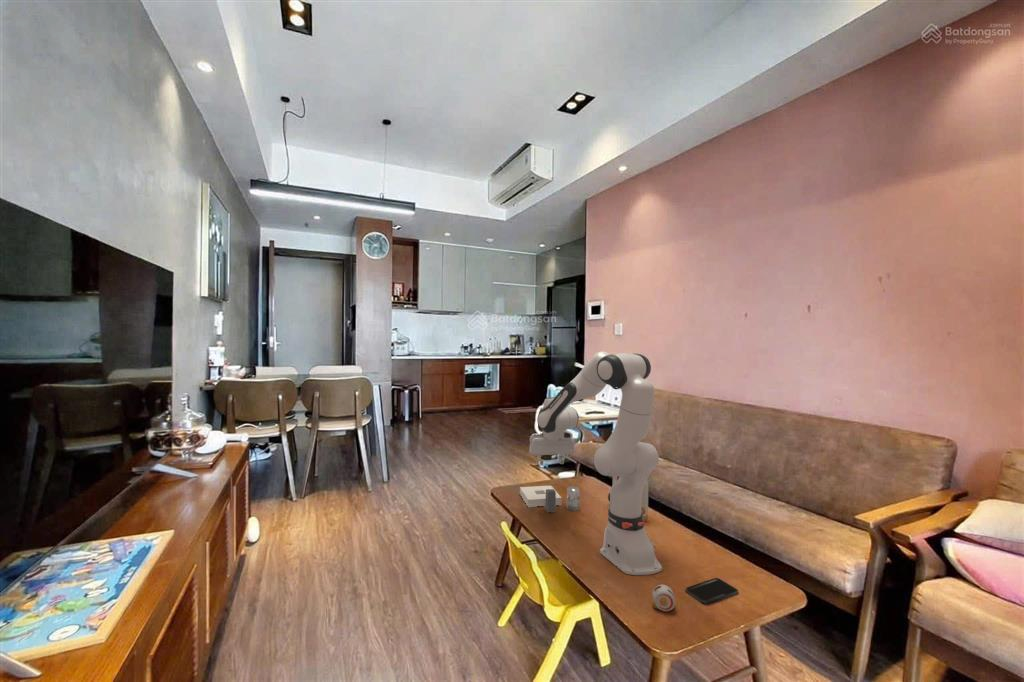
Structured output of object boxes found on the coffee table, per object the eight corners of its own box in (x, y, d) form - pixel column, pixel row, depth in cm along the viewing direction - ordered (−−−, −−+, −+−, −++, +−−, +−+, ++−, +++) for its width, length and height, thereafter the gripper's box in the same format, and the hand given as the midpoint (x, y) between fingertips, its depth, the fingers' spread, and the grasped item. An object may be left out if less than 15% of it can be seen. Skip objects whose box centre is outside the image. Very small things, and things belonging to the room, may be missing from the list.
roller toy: (676, 615, 113) (677, 594, 113) (652, 611, 115) (653, 590, 115) (674, 605, 118) (674, 585, 118) (650, 601, 119) (651, 581, 119)
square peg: (555, 512, 180) (555, 491, 180) (547, 512, 179) (548, 492, 179) (552, 509, 183) (553, 489, 183) (545, 509, 182) (545, 489, 183)
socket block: (561, 505, 188) (561, 497, 188) (527, 507, 184) (528, 499, 184) (550, 492, 203) (551, 485, 203) (519, 494, 200) (519, 487, 200)
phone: (683, 588, 125) (717, 577, 131) (683, 592, 125) (717, 580, 131) (705, 603, 117) (740, 591, 124) (705, 607, 117) (740, 594, 124)
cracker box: (642, 516, 178) (643, 468, 178) (648, 522, 172) (649, 472, 172) (611, 517, 176) (612, 468, 176) (616, 523, 170) (617, 473, 170)
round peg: (580, 510, 182) (581, 490, 182) (569, 511, 181) (569, 491, 181) (576, 505, 188) (576, 486, 188) (564, 506, 187) (565, 486, 187)
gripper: (531, 435, 176) (530, 467, 176) (576, 434, 180) (575, 465, 180) (527, 432, 182) (527, 463, 182) (571, 430, 186) (570, 461, 186)
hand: (551, 464), depth 181 cm, fingers open, 8 cm apart
